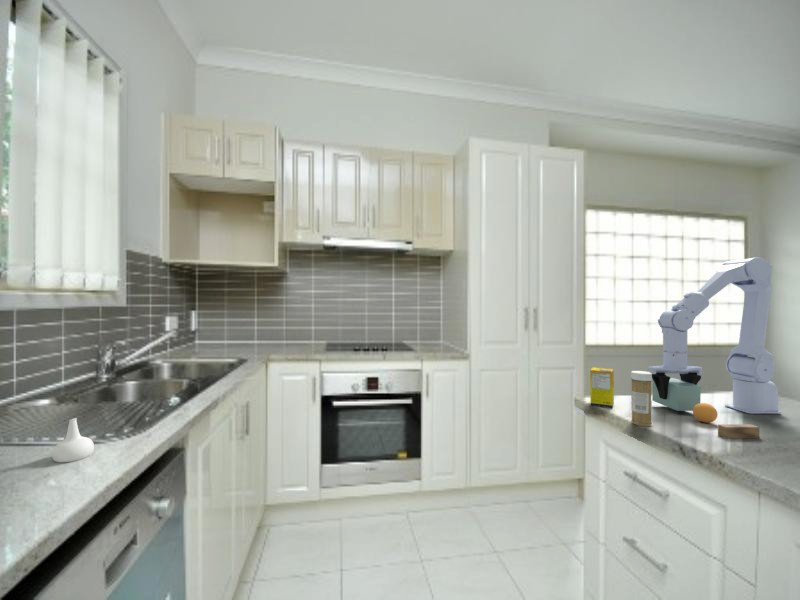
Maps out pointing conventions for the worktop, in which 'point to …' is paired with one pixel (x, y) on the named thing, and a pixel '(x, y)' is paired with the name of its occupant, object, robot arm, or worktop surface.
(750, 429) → the strip
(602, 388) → the supplement box
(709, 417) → the ball
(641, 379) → the sprinkles bottle
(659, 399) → the pale mint block
